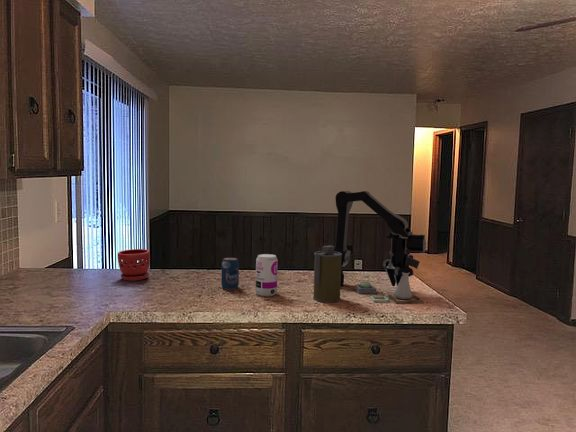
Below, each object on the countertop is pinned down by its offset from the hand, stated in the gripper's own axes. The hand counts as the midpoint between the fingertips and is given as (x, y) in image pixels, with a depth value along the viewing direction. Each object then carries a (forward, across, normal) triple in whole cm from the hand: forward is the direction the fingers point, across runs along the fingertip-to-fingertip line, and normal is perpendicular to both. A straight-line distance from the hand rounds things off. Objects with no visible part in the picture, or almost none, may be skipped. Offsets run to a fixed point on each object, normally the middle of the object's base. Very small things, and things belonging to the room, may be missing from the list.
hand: (396, 288), depth 193 cm
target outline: (+2, -10, 0) cm, 11 cm away
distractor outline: (+2, -10, +10) cm, 15 cm away
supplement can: (+2, 0, +52) cm, 52 cm away
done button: (0, +3, +12) cm, 12 cm away
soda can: (+2, +10, +66) cm, 67 cm away
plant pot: (+2, +28, +107) cm, 110 cm away
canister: (+2, -8, +30) cm, 31 cm away
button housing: (+2, +3, +12) cm, 13 cm away
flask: (+1, -7, 0) cm, 7 cm away
